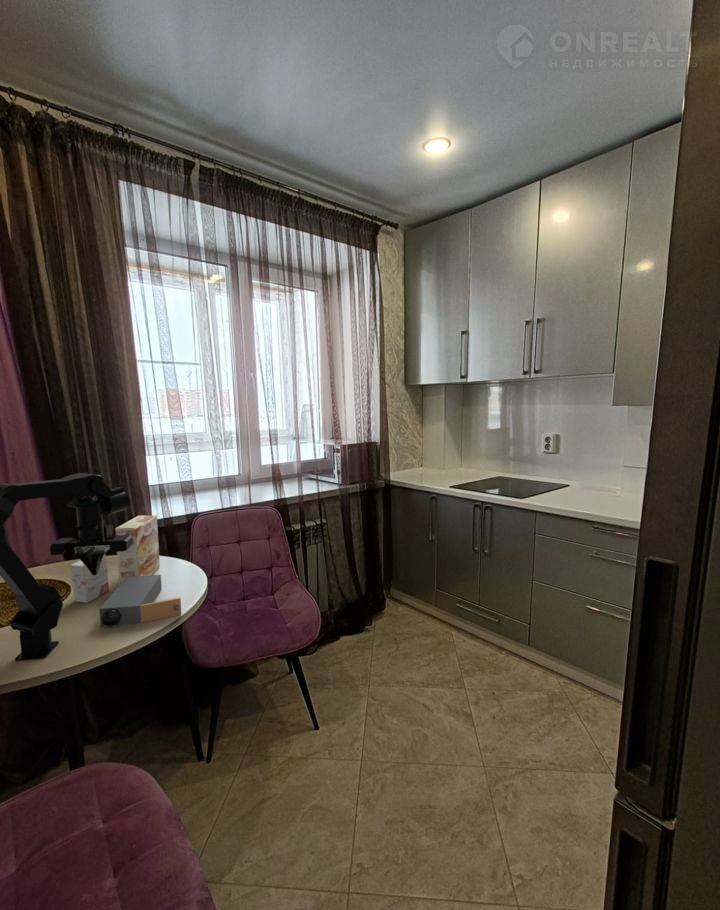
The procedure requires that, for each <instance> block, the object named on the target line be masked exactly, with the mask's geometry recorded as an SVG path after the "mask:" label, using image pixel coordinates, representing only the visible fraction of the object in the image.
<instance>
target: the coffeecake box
mask: <svg viewBox="0 0 720 910" xmlns="http://www.w3.org/2000/svg"><path fill="white" fill-rule="evenodd" d="M114 529H115V537H116V536H120V535H131V537H132V538H133V545H132V546H131V547H130V548H129V549H128V550H126V551H119V552H116V555H117V571H118V583H119V585H120V584H121V583H122V582H123V581H124V580H125V578H126V577H134V576H149V575H154V573H155V572H157V570H158V569H160V568H161V566H160V565H161V563H160V550H159V549H160V548H159V531H158V530H159V529H158V516H157V515H137V516H135V517H134V518H132V519H130V520H128V521H126V522H124V523H122V524H121V525H119V526H117V527H115V528H114ZM159 567H160V568H159ZM119 585H118V586H119Z"/></svg>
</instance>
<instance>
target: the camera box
mask: <svg viewBox="0 0 720 910" xmlns="http://www.w3.org/2000/svg"><path fill="white" fill-rule="evenodd" d="M161 589H162V575H161V574H152V575H149V576H134V577H126V578H125V580H124V581H123V582H122V583H121V584H120V585H118V586H117V588H115V590H114V591H112V594H111V595H109V597H108V598H107V599H106V600H105V601H104V602H103V603H102V605H101V606H100V607H99V609H98V611H99V623H100V626H101V627H114V626H120V625H129V624H130V625H131V624H141V623H142V618H141V605H142V604H147V603H152V602H156V599H157V598H158V596H159V595H158V594H160V593H161V591H162V590H163V589H162V590H161Z"/></svg>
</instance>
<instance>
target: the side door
mask: <svg viewBox="0 0 720 910" xmlns="http://www.w3.org/2000/svg"><path fill="white" fill-rule="evenodd" d="M181 601H182V600H181V597H180V596H179V597H174V598H169V599H164V600H158V601H154V602H152V603H147V604H142V605H141V618H142V621H141V623H145V622H151V621H156V620H160V619H166V618H171V617H175V616H180V615H182V602H181Z"/></svg>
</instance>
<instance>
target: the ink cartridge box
mask: <svg viewBox="0 0 720 910" xmlns="http://www.w3.org/2000/svg"><path fill="white" fill-rule="evenodd" d="M94 552H95V550H94ZM107 564H108V563H107V556H106V553H105V554H104V556H103V558H102V561H101V564H100V567H99V571H98V574H97V575H92V574H91V572H90V571H89V569H88V568H87V567H86V565H85V564H84V563H83V562H82V561H81V560H79V561H76V562H74V563H72V564H70V572H71V581H72V591H73V597H74V602H78V603H79V602H80V603H88V604H89V602H91V601H94V600H95V599H97V598H98V597H100V596H101V595H103V594H105V593H106V592H109V591H110V587H109V586H110V585H109V584H110V583H109V575H108V565H107Z"/></svg>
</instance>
